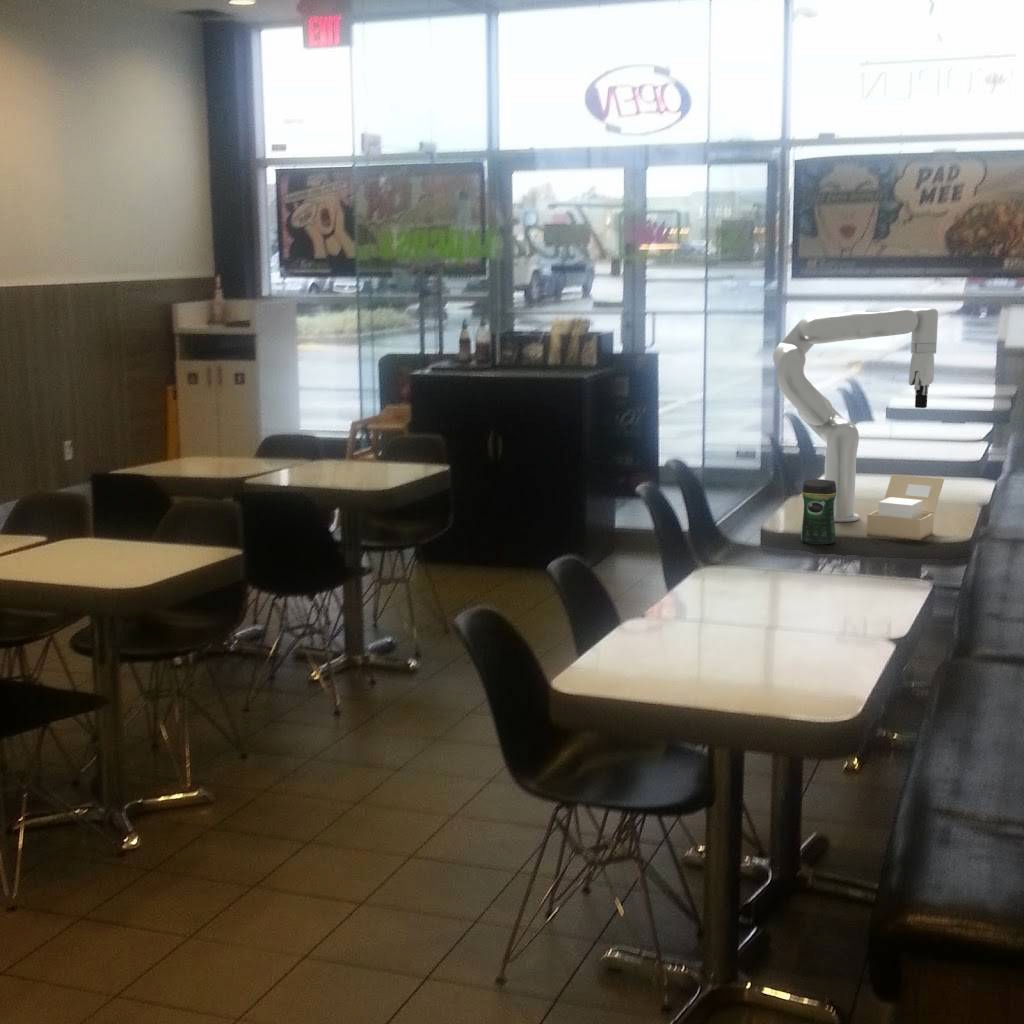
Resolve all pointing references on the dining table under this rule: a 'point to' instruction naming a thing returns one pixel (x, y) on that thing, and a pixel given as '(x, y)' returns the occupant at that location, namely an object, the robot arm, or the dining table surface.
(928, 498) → the lid
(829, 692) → the dining table surface
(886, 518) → the mailer box
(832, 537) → the coffee jar
